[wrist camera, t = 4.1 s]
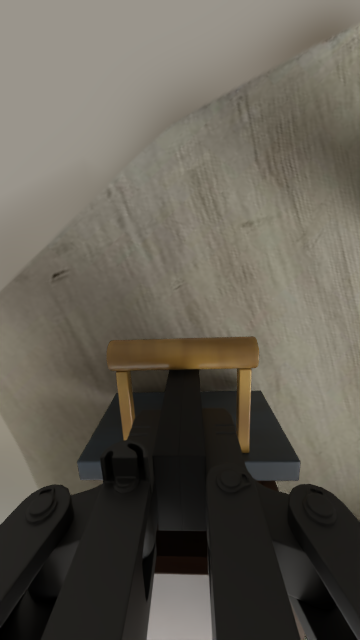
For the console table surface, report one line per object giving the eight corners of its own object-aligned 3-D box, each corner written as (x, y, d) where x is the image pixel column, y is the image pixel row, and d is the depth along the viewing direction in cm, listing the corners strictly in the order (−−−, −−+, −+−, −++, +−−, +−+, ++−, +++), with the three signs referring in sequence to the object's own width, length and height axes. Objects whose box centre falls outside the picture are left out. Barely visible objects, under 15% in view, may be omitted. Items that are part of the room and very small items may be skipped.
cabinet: (120, 450, 21) (74, 571, 13) (262, 449, 20) (312, 576, 12) (134, 568, 24) (105, 726, 16) (257, 571, 24) (293, 737, 15)
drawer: (107, 316, 17) (56, 348, 11) (264, 311, 17) (312, 341, 10) (131, 523, 22) (106, 635, 15) (255, 524, 21) (284, 641, 15)
